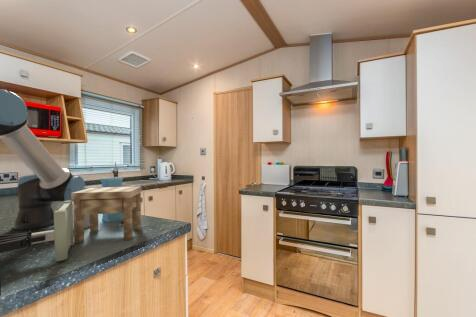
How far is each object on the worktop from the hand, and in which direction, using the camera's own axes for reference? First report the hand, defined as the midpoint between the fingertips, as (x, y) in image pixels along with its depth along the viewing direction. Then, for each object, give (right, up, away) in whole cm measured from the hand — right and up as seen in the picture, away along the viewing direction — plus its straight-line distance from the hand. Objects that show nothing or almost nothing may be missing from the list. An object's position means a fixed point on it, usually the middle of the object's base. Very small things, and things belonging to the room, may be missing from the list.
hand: (59, 233), depth 72 cm
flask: (-12, -7, +30) cm, 33 cm away
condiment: (+5, -7, +36) cm, 37 cm away
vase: (-6, -7, +42) cm, 43 cm away
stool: (+5, -7, +19) cm, 21 cm away
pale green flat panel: (0, -6, +2) cm, 7 cm away
